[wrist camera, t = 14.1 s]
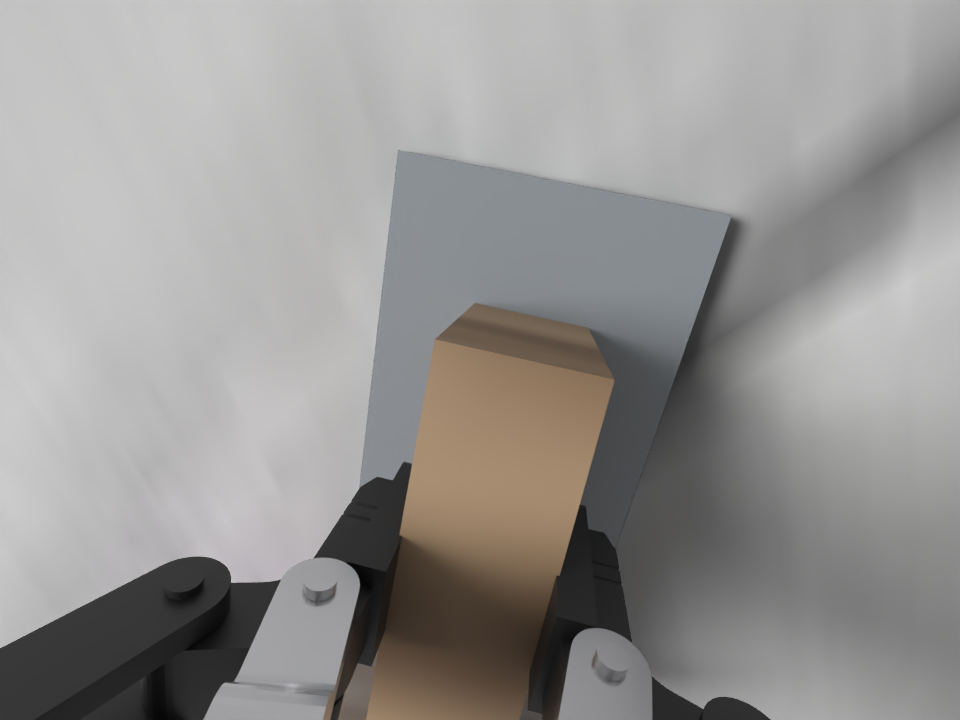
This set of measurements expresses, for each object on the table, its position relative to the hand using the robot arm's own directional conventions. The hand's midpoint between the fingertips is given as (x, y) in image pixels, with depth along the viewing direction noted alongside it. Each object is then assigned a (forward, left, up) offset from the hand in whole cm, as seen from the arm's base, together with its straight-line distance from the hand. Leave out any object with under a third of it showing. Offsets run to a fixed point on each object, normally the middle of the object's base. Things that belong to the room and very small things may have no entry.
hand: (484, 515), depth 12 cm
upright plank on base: (+2, 0, -2) cm, 3 cm away
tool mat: (+1, 0, -3) cm, 4 cm away
